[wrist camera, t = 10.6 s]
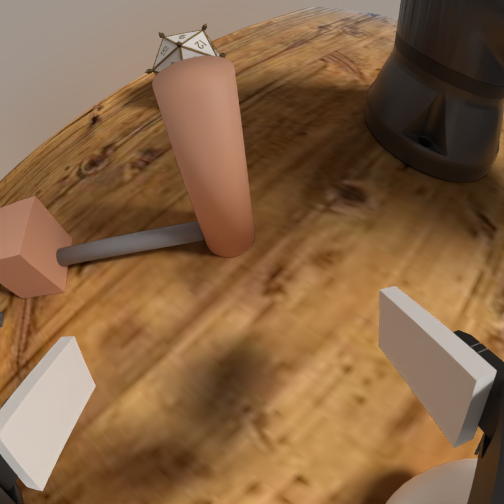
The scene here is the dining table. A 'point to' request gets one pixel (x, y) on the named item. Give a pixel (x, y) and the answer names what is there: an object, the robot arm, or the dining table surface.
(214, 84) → the block
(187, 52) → the game die
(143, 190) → the dining table surface
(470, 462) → the white knot
